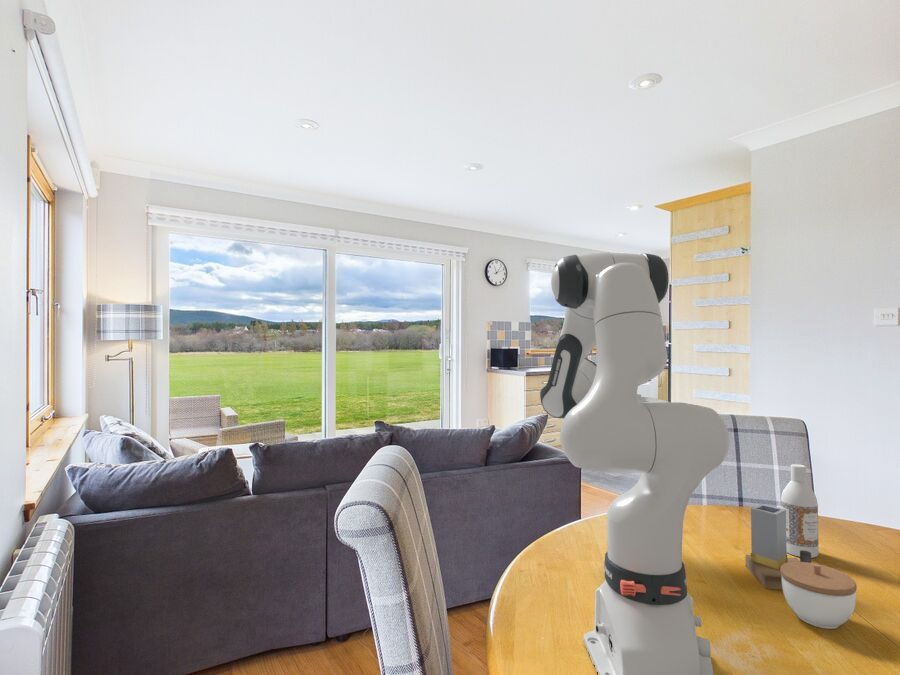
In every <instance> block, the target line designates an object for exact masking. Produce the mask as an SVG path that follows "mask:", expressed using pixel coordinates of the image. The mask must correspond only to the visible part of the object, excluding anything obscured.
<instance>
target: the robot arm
mask: <svg viewBox="0 0 900 675" xmlns="http://www.w3.org/2000/svg"><path fill="white" fill-rule="evenodd" d="M550 278H551V281H550V283H551V284H550V286H551V291H552V293H553V296H554V300H555V301H556V302H557V303H558V304H559V305H560V306H561V307H564V308H566V309H565V315H564V319H563V322H562V323H563V324H562V328H561V330H560V334H559V338H558V342H557V345H556V349H555V351H554V355H553V359H552V364H551V368H550V372H549V376H548V380H547V383H546V384H545V386H544V387H543V388H542V389H541V390H540V392H539V396H540V397H539V399H540V403H541V406H542V408H543V410H544V412H546V413H547V414H548V415H549V416H551V417H553V418H557V419H563V420H562V422H561V425H560V430H559V439H560V445H561V448H562V452H563V453H564V455H565V457H566V458H567V459H568V461H569V462H570V463H571V465H573V466H574V467H576V468H580V469H583V470H588V471H592V472H593V471H594V472H597V473H598V472H599V473H606V474H608V473H609V474H610V473H616V474H617V473H620V474H621V473H624V474H625V473H630V474H633V473H635V474H636V473H639V474H641V475H640V477H639V478H638V481H637V482H636V483H635V485H633V486H632V487H631V488H630V489H629V490H627V491H625V492H623V493H621V494H619V495H618V496H616V497H615V498H614V499H613V500H612V502H611V503H610V505H609V507H608V509H607V513H606V519H607V520H606V532H607V533H606V535H607V536H606V537H607V539H606V541H607V542H606V545H607V547H606V549H607V551H606V552H605V554H604V561H603V569H604V581H603V583H602V584H601V585H600V586H599V587H598V588H597V589H595V594H594V595H595V596H594V598H595V599H594V629H593V630H590V631H587V632H585V633H584V634H583V637H582V641H583V640H584V643H585V645H586V647H587V650H588V652H589V654H590V656H591V658H592V660H593V663H594V665H595V667H596V670H597V672H598V674H599V675H715V674H714V668H713V663H712V659H711V654H712V652H711V642H710V639H708V638H704V637H701V636H698V635H697V632H696V627H697V628H702V618H701V616H699V615H695V614H694V598H693V597H692V596H691V595H690V594H688V587H687V586H688V584H687V583H688V578H687V572H686V568H685V564H684V562H683V534H684V533H683V532H684V530H683V529H684V520H685V514H686V510H687V508H688V504H689V501H690V499H691V497H692V495H693V493H695V490H696V488H697V487H698V486H699V484H700V483H701V482H702V480H703V479H704V478H705V477H706V476H708V474H710V473H711V472H712V471H713V470H715V469H717V468H718V467H719V466H721V465H722V463H723V462H724V461H725V459H726V457H727V455H728V454H729V453H728V452H729V449H730V433H729V430H728V427H727V424H726V423H725V421H724V419H723V418H722V416H720V414H719V413H718V412H717V411H716V410H714V409H713V408H711V407H706V406H702V405H697V404H692V403H687V402H676V401H675V402H670V401H668V400H664V399H661V398H660V399H658V398H653V397H647V396H642V394H641V393H638V388H639V386H641V385H644V384H645V383H646V384H647V382H649V381H651V380H653V379H654V378H656V377H658V376H659V375H660V374H661V373H662V372H663V371H664V370H665V367H666V365H667V363H668V352H667V343H666V337H665V332H664V325H663V319H662V314H661V308H660V303H661V302H662V300H663V299H664V298H666V295H667V293H668V289H669V280H670V279H669V278H670V277H669V270H668V266H667V263H666V262H665V261H664V260H663V259H662V258H661V256H659V255H656V254H652V253H644V252H642V253H640V254H636V253H623V252H621V253H620V252H618V253H617V252H616V253H615V252H614V253H613V252H612V253H611V252H596V253H588V254H581V255H577V254H571V255H567V256H563V257H561V258H559V259H558V261H557V262H555V265H554V269H553V271H552V275H551V277H550ZM594 348H596V349H595V351H596V362H594V361H593V360H591V359H589V358H586V357H588V356H589V354H590V353H591V351H593V349H594ZM584 643H583V644H584ZM585 645H584V646H585ZM587 650H586V651H587ZM588 652H587V653H588ZM589 654H588V655H589ZM593 663H592V664H593ZM596 670H595V671H596ZM597 672H596V673H597Z"/></svg>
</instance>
